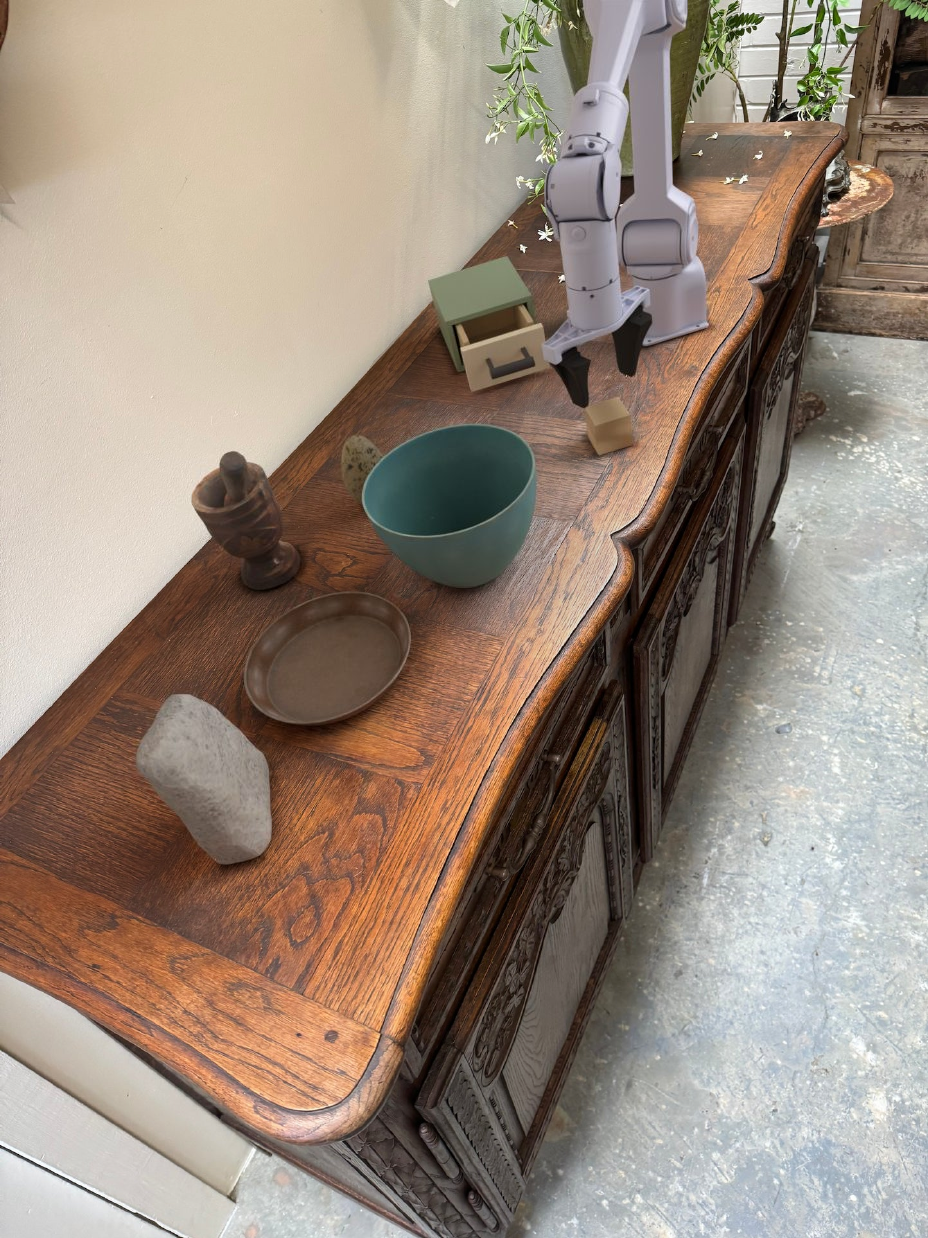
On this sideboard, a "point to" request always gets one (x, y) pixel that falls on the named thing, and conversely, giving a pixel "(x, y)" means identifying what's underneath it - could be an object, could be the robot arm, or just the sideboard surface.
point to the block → (608, 426)
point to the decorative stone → (209, 778)
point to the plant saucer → (327, 658)
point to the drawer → (500, 346)
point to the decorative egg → (358, 464)
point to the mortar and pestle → (246, 521)
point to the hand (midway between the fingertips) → (604, 388)
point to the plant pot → (454, 502)
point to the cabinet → (476, 297)
